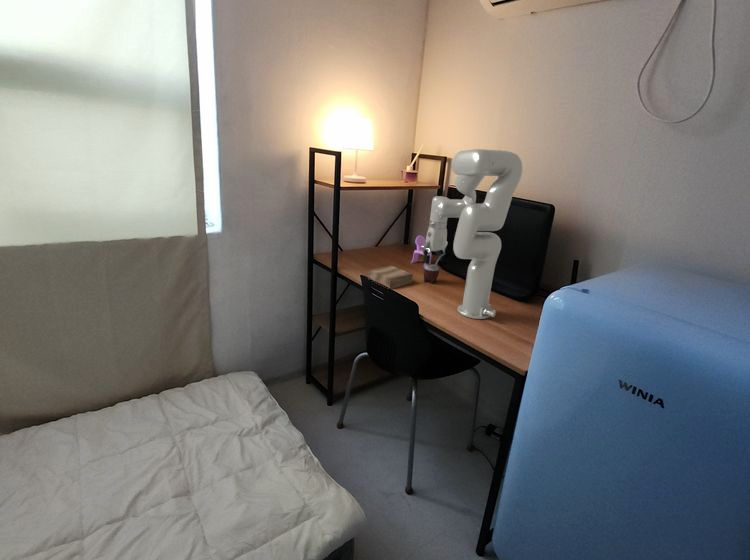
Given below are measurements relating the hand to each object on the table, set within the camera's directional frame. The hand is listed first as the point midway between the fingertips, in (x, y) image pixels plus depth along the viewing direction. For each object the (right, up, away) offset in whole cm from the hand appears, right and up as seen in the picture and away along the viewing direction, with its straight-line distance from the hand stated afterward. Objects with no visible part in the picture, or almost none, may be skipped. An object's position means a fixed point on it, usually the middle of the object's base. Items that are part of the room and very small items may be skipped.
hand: (432, 261), depth 188 cm
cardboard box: (-20, -10, 0) cm, 22 cm away
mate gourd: (0, -10, +3) cm, 10 cm away
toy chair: (-2, 0, +30) cm, 30 cm away
